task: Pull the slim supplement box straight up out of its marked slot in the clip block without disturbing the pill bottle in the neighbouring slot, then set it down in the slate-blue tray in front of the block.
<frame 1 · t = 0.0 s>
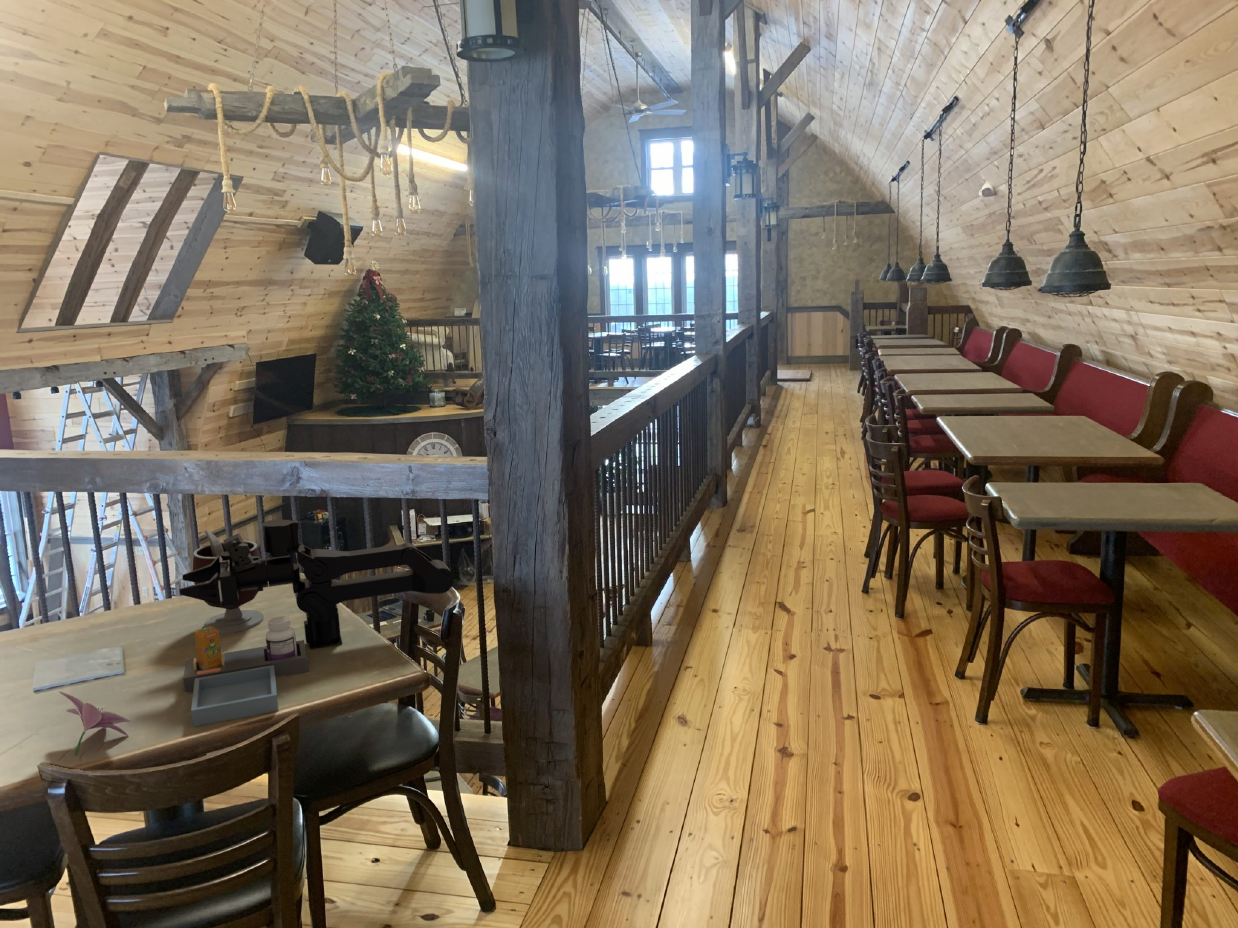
hand: (181, 584, 173), 17 cm above the table, tool horizontal, fingers open, 9 cm apart
clip block: (248, 672, 172), on the table
tray: (236, 701, 160), on the table
supplement box: (212, 680, 169), resting in clip block
lily: (98, 744, 147), on the table
pill bottle: (283, 667, 174), resting in clip block
mate gourd: (232, 622, 198), on the table
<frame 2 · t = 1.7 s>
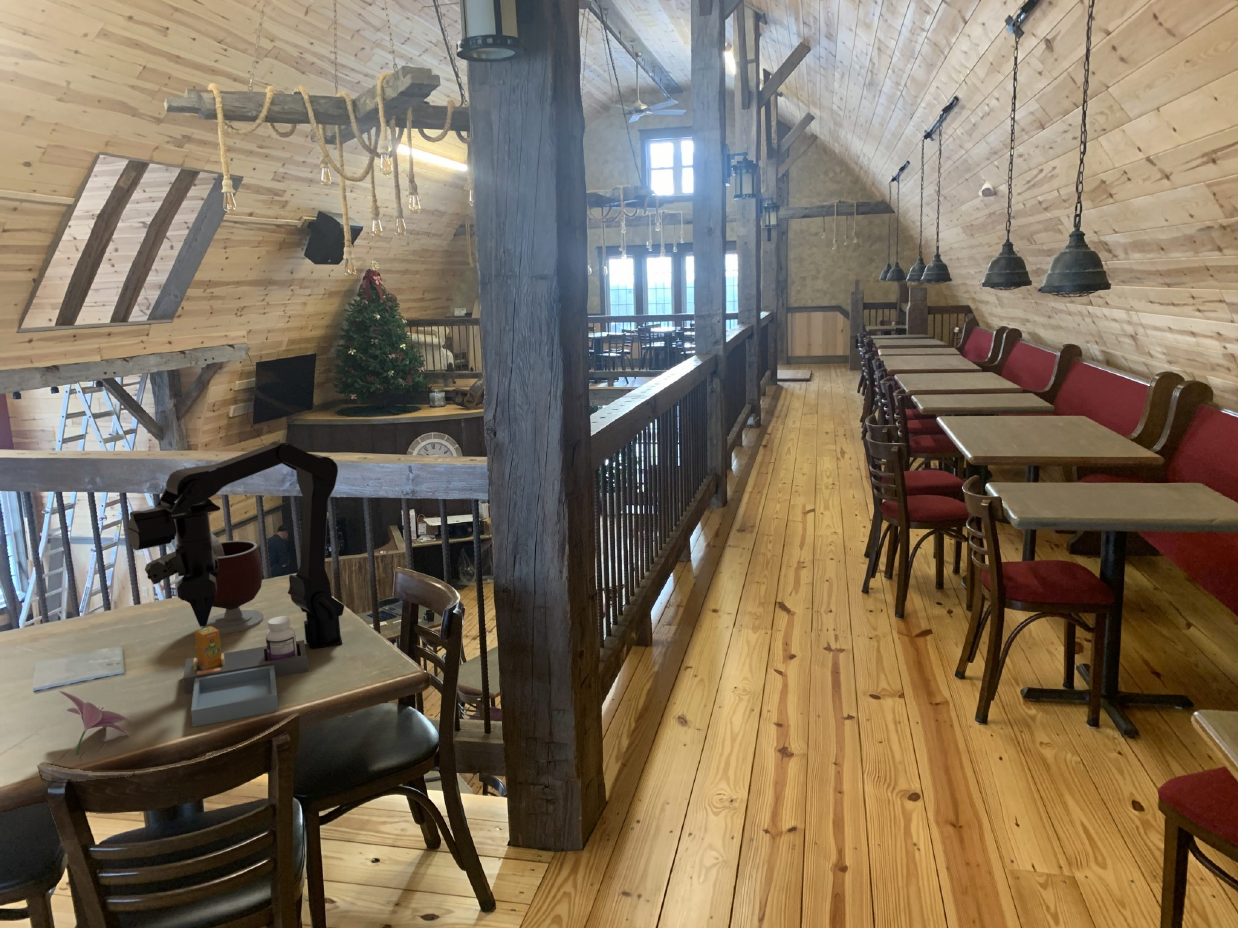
hand: (204, 617, 167), 12 cm above the table, tool pointing down, fingers open, 9 cm apart
nothing on the table moved.
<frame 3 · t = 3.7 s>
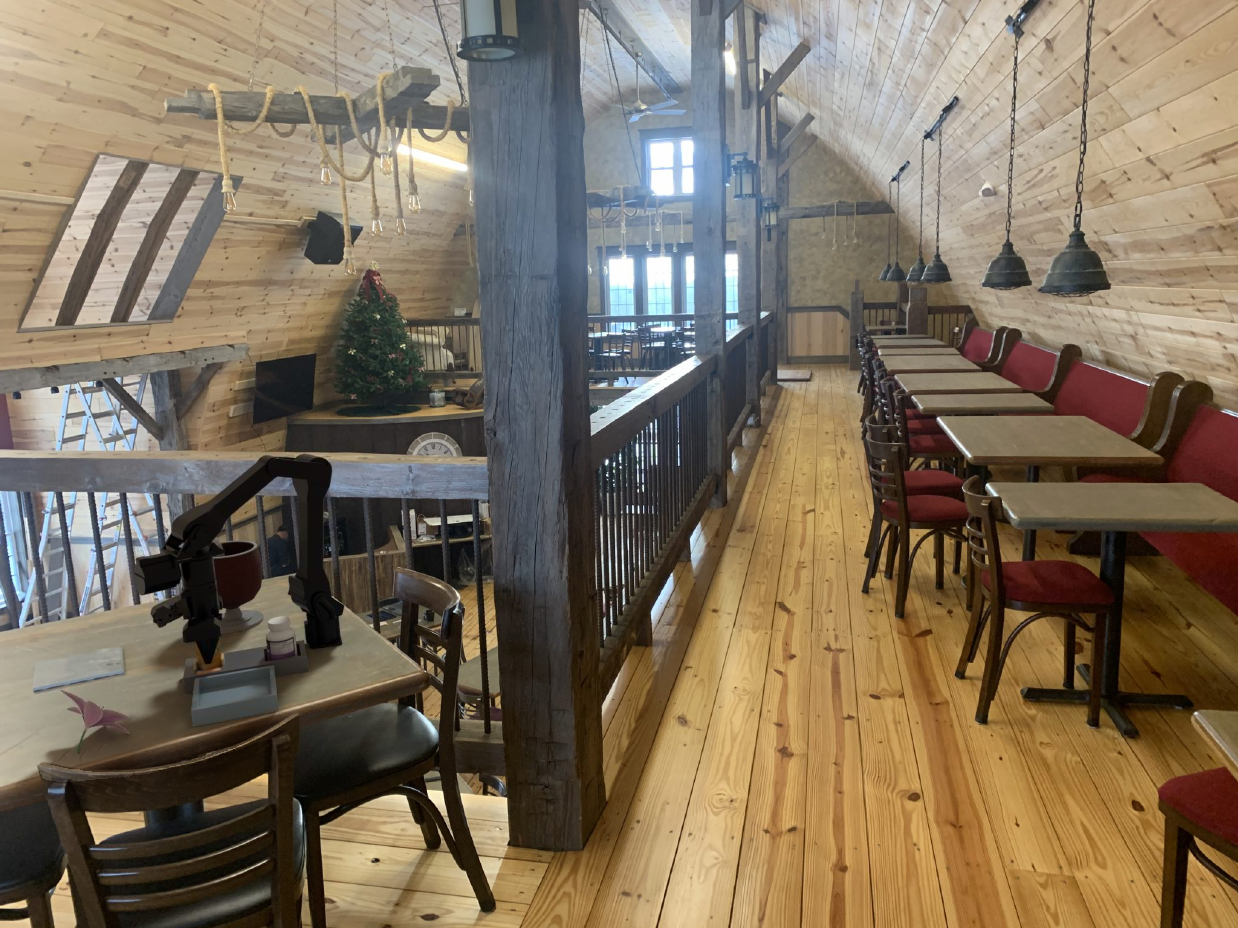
hand: (208, 659, 168), 4 cm above the table, tool pointing down, fingers closed on supplement box, 4 cm apart
supplement box: (212, 680, 169), resting in clip block, touching gripper
when the fingers open (10 cm above the table, at t = 7.1 s): supplement box stays where it is, resting on tray.
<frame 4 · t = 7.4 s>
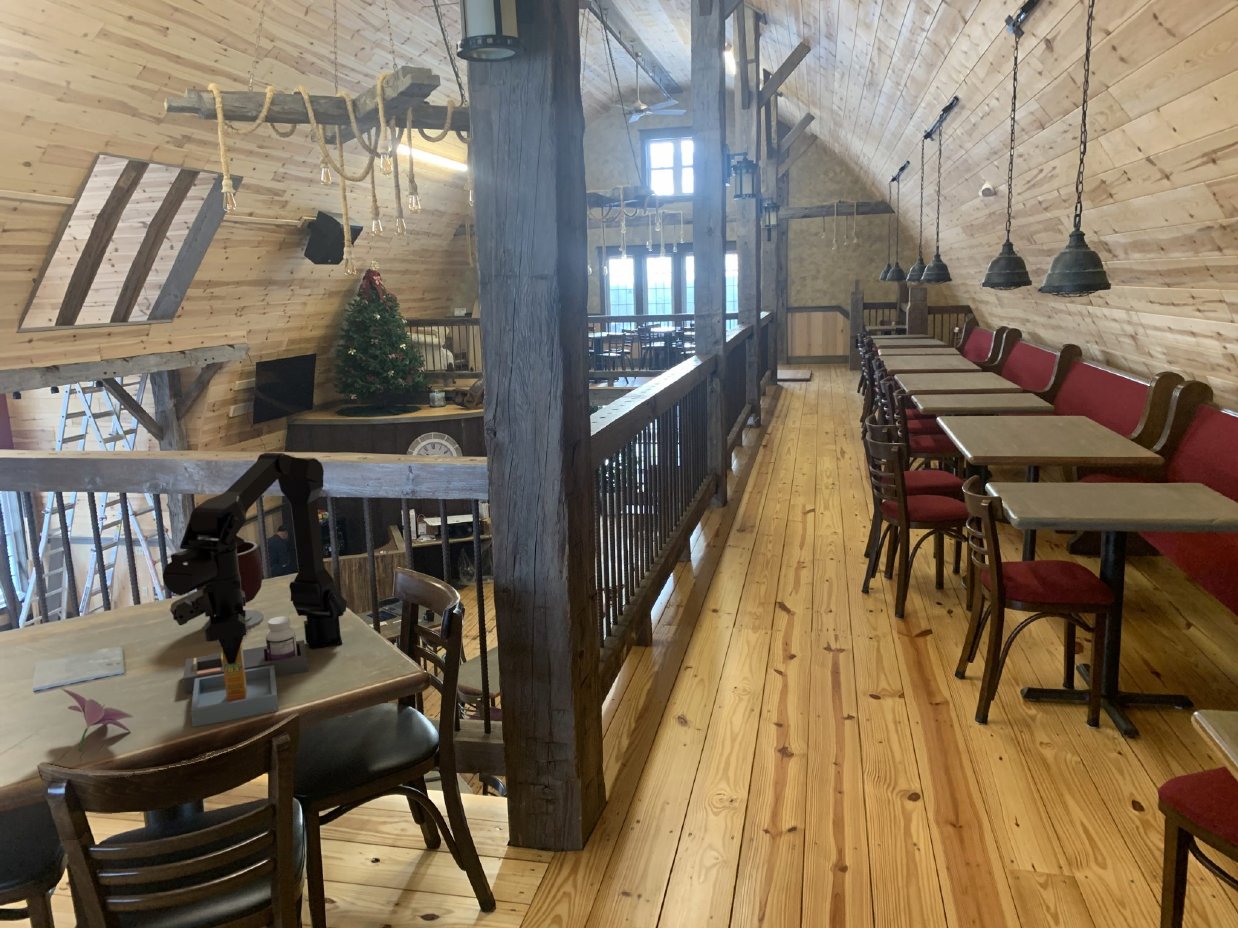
hand: (231, 658, 158), 8 cm above the table, tool pointing down, fingers open, 4 cm apart
supplement box: (237, 697, 159), point 1 cm above the table, touching tray
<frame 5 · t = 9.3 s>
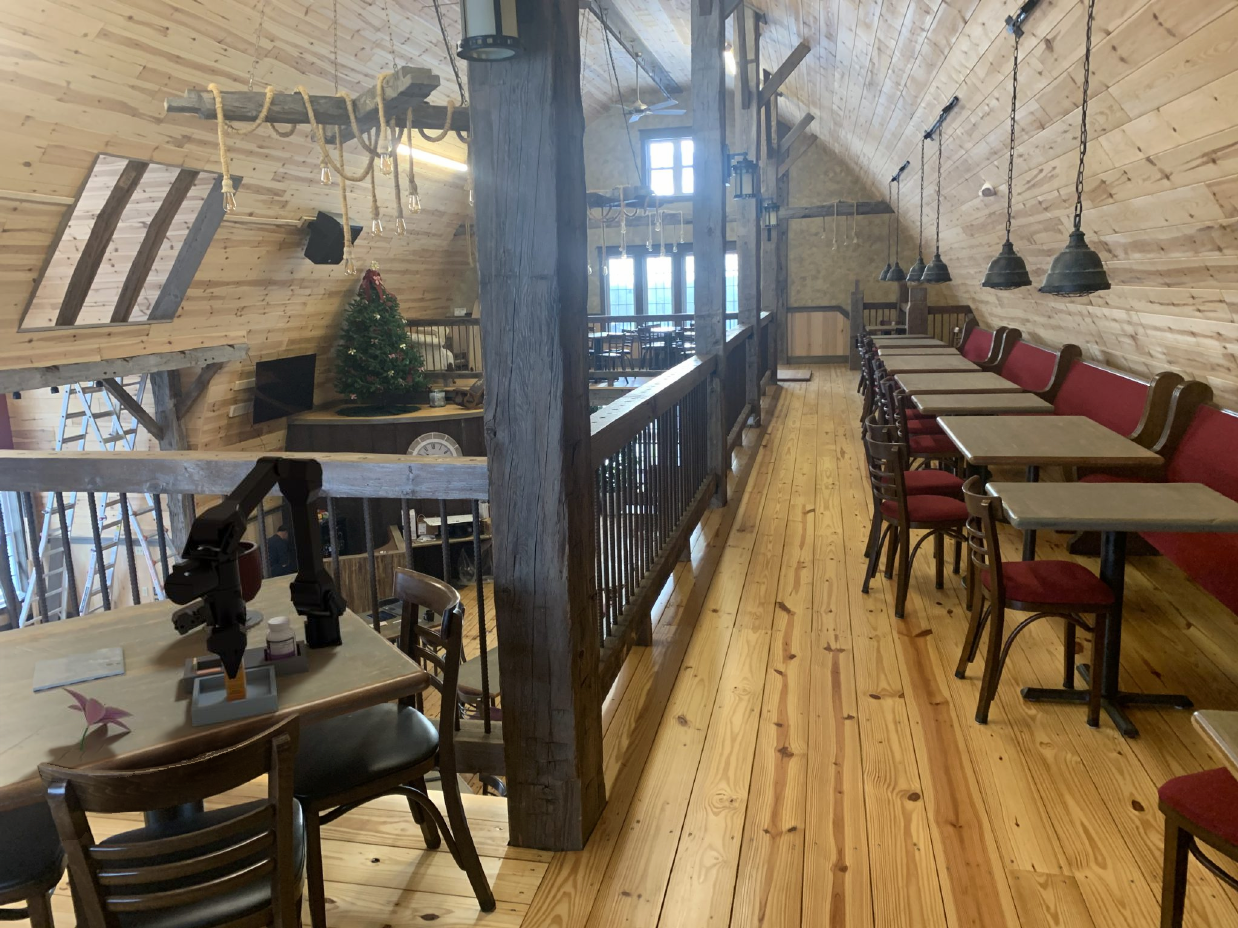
hand: (232, 668, 158), 7 cm above the table, tool pointing down, fingers open, 9 cm apart
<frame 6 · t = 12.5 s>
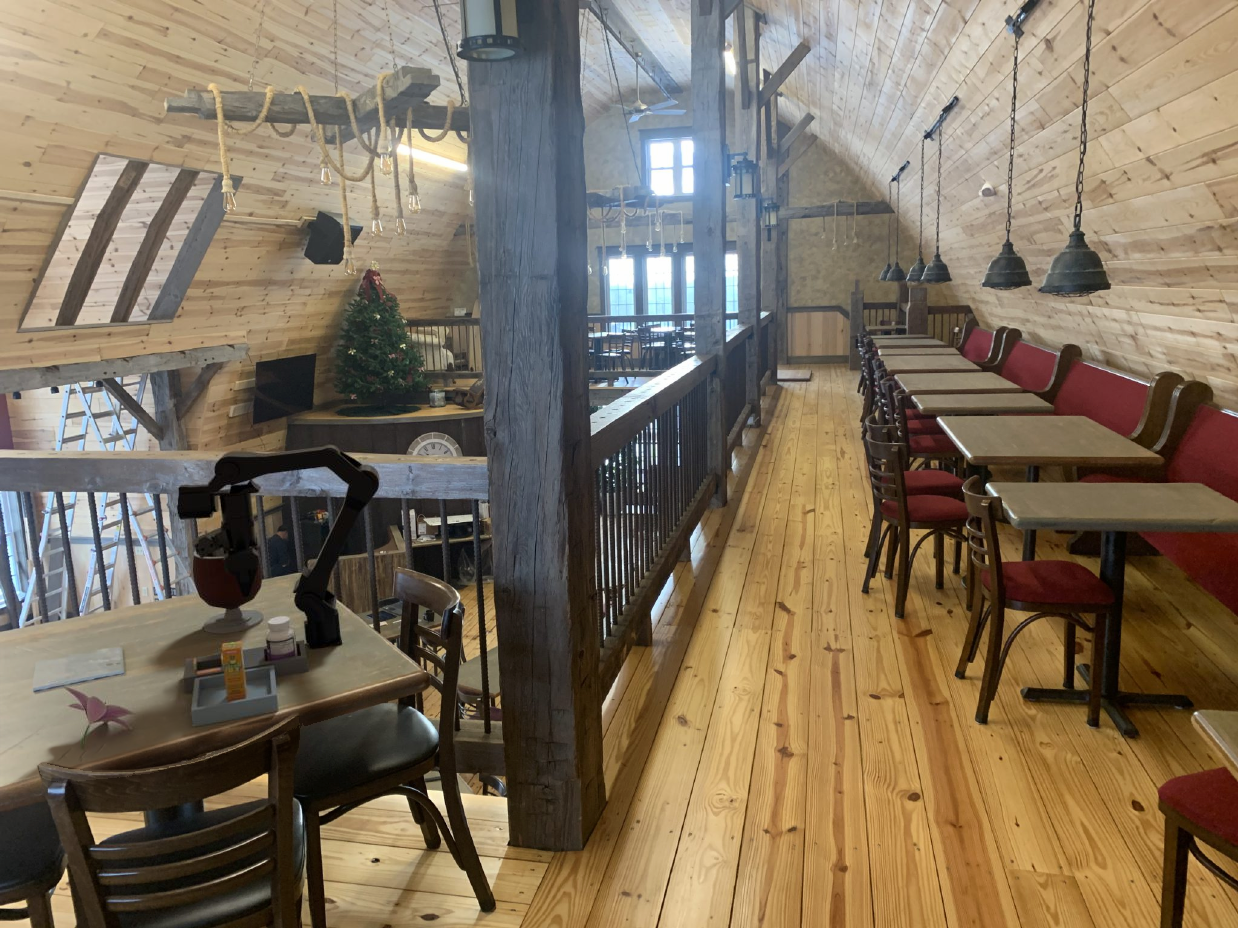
hand: (245, 589, 180), 13 cm above the table, tool pointing down, fingers open, 9 cm apart
at the end: supplement box inside the target area on the tray (0.2 cm from its centre), point 0.8 cm above the tray's base; the gripper is holding nothing; pill bottle moved 0.2 cm from its start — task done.
